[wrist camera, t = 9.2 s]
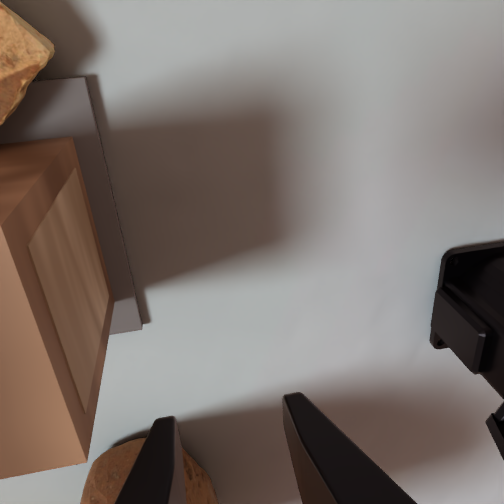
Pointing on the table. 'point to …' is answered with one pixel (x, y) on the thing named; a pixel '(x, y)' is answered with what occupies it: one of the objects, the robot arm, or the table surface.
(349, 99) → the table surface
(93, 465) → the brown oblong lump
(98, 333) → the slab
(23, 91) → the shard
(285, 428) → the robot arm
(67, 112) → the mat
